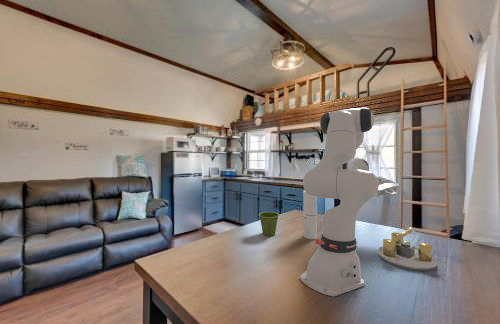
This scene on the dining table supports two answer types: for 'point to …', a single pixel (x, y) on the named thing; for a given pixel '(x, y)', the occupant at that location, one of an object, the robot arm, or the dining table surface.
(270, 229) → the plant pot
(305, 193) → the cylindrical container
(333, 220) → the robot arm
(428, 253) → the tribrach
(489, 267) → the dining table surface
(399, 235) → the brass lever handle
